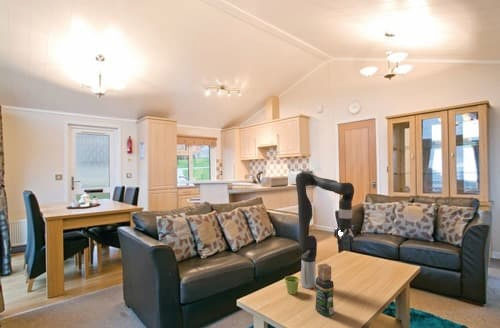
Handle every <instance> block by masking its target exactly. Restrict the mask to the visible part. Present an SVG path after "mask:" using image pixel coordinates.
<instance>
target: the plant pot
mask: <svg viewBox="0 0 500 328" xmlns="http://www.w3.org/2000/svg"><path fill="white" fill-rule="evenodd" d="M284 281H285V285H286V292H287V293H288V294H289V295H296V294H297V293H298V287H299V283H300V281H301V278H299V277H298V276H295V275H288V276H285V277H284Z"/></svg>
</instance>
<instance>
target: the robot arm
mask: <svg viewBox="0 0 500 328" xmlns="http://www.w3.org/2000/svg"><path fill="white" fill-rule="evenodd" d="M295 185H296V193H297V210H298V225H299V226H298V246H299V249H300V250H301V251H305V252H304V253H302V254H301V257H300V258H301V261H300V262H301V265H300V266H301V269H300V284H301V287H303V288H306V289H314V288H315V289H316V284H315V283H316V278H317V277H316V275H317V272H316V271H317V268H316V267H317V266H316V263H317V262H316V260H317V259H316V258H317V254H318V251H317V249H318V240H317V238H316V236H314V235H313V234H310V235H307V232H308V231H307V230H308V226H309V225H310V223H311V221H312V219H313V214H314V213H313V205H312V202H311V200H310V198H309V196H308V194H307V187H317V188H320V189H322V190H324V191H329V192H333V193H335V194H337V195H340V196H342V197H341V198H340V199H339V201H338V204H339V205H338V225H339V226H338V227H336V226H335V227H334V231H333V233H334V234H333V237H334V238H336V239H337V240H336V242H337V245H338V246H342V237H344V236H345V235H348V236H349V238H348V241H349V242H348V243H349V244H351V245H352V244H354V237H356V236H357V226H356V225H353V210H352V209H353V205H352V203H353V198H354V194H355V187H354V185H353V183H351V182H339V181H337V180H334V179H330V178H323V177H320V176H316V175H314V174H312V173H309V172H299V173H297V174H296V176H295Z"/></svg>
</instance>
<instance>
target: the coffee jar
mask: <svg viewBox="0 0 500 328" xmlns="http://www.w3.org/2000/svg"><path fill="white" fill-rule="evenodd" d="M315 284H316V287H315V289H316V293H315V294H316V295H315V310H316V312H318V313H319V314H320V315H322V316H325V317H327V316H328V317H330V316H332V315H333V314H335V313H334V310H335V309H334V288H335V286H334V281H333V280H332V279H331V280H326V281H323V280H321V279H320V278H318V276H317V277H316V283H315Z"/></svg>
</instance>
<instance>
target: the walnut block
mask: <svg viewBox="0 0 500 328" xmlns="http://www.w3.org/2000/svg"><path fill="white" fill-rule="evenodd" d="M317 277H318V278H320V279H321V280H323V281H326V280H331V281H332V266H331V265H329V264H327V263H321V264H317Z"/></svg>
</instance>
